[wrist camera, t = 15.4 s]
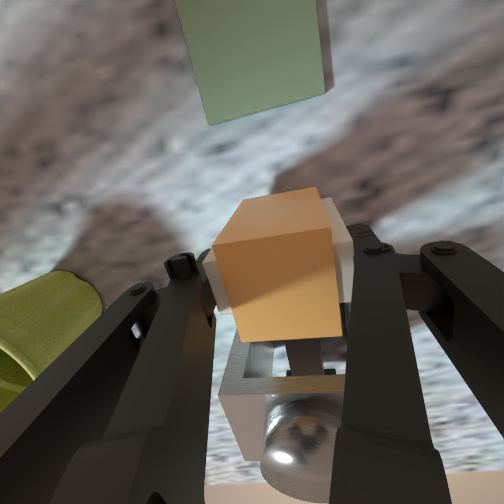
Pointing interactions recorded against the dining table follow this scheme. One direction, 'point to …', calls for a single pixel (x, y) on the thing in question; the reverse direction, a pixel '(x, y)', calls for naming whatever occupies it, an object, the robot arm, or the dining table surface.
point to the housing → (283, 419)
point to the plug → (282, 275)
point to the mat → (252, 54)
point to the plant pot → (41, 326)
